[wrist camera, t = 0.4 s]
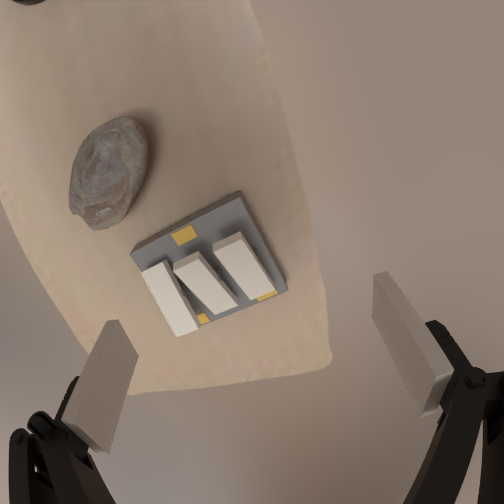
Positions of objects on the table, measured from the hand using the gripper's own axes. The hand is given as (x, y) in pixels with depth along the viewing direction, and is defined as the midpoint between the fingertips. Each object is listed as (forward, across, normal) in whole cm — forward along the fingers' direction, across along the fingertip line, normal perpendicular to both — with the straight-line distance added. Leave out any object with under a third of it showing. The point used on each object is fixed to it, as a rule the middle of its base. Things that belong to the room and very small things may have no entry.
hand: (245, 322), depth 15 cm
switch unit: (+27, -7, -10) cm, 30 cm away
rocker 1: (+22, -12, -12) cm, 27 cm away
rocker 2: (+22, -7, -10) cm, 25 cm away
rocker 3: (+22, -2, -9) cm, 23 cm away
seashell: (+28, -16, +6) cm, 33 cm away
